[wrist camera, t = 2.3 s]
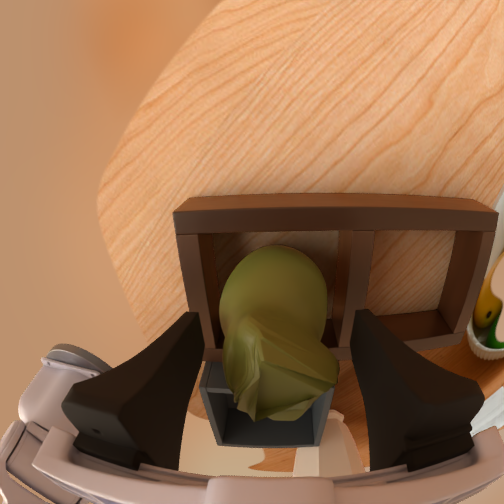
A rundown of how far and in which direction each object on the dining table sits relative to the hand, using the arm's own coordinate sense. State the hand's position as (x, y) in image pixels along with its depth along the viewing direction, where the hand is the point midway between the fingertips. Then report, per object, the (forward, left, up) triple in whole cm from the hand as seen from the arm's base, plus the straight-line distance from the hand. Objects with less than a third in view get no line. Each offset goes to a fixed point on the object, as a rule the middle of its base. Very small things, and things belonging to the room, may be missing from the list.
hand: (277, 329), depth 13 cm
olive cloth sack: (0, 0, -6) cm, 6 cm away
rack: (+4, 0, -6) cm, 7 cm away
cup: (+5, -19, -6) cm, 20 cm away
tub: (-1, -10, -6) cm, 11 cm away
